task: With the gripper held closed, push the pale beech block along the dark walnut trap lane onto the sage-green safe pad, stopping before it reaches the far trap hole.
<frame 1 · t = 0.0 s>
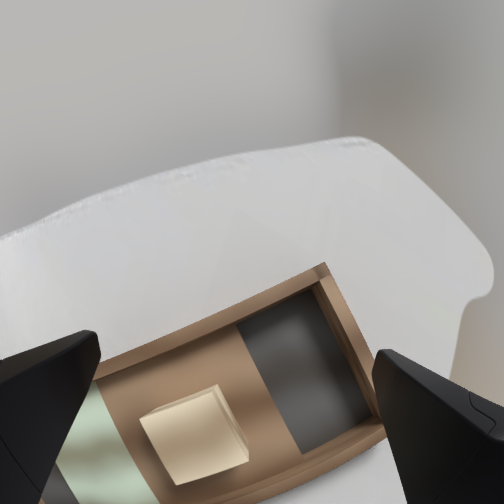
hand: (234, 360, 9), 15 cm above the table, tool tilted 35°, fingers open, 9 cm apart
beech block: (201, 426, 19), point 2 cm above the table, touching trap lane
trap lane: (156, 437, 21), on the table
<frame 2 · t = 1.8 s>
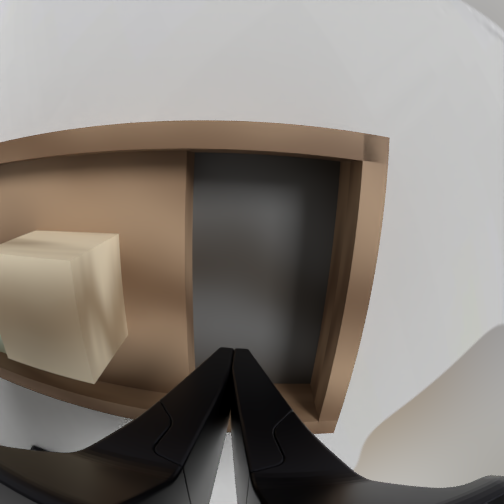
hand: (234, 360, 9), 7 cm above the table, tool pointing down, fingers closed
beech block: (78, 282, 13), point 2 cm above the table, touching trap lane
trap lane: (36, 263, 15), on the table
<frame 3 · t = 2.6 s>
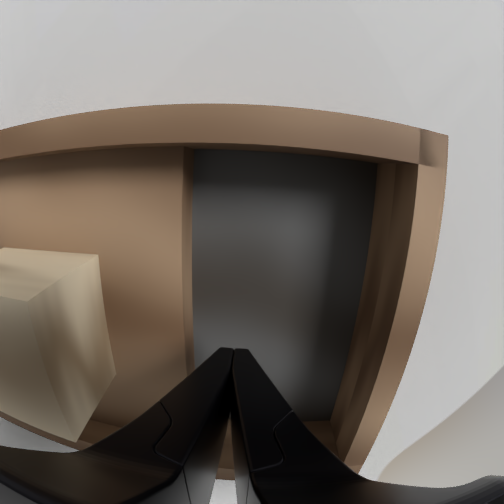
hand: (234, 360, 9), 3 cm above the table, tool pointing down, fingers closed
beech block: (54, 311, 10), point 2 cm above the table, touching trap lane
trap lane: (12, 282, 12), on the table
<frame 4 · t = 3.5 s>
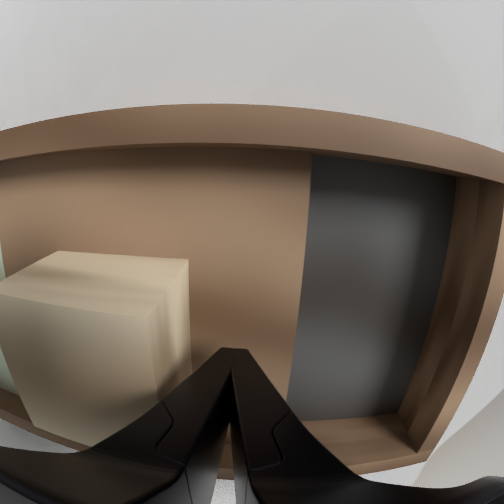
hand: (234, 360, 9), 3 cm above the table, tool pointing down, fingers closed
beech block: (123, 321, 10), point 2 cm above the table, touching gripper, trap lane
trap lane: (65, 292, 12), on the table
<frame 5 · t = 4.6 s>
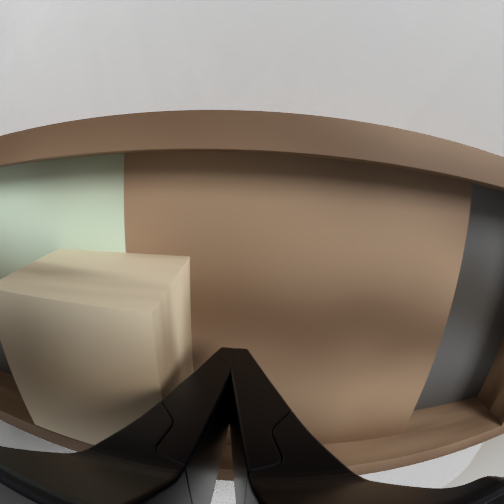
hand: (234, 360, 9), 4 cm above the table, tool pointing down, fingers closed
beech block: (124, 319, 10), point 2 cm above the table, touching gripper, trap lane
trap lane: (195, 308, 12), on the table
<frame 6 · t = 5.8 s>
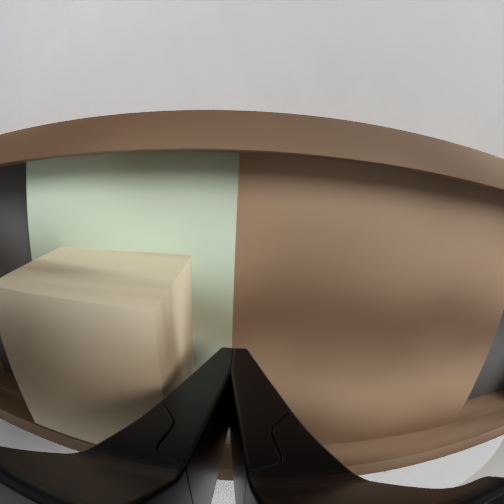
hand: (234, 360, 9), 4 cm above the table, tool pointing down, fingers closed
beech block: (125, 318, 10), point 2 cm above the table, touching gripper, trap lane
trap lane: (285, 312, 12), on the table
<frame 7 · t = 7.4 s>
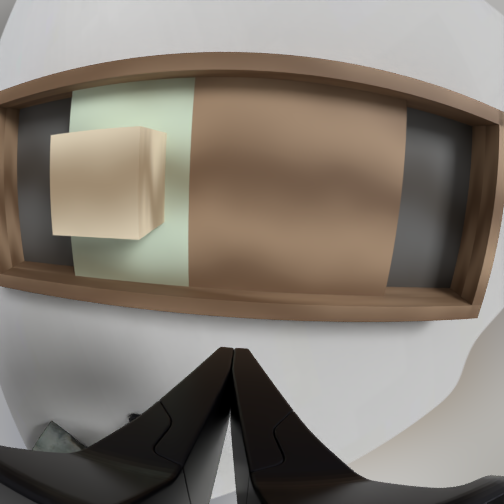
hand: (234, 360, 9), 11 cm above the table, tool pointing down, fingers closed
beech block: (124, 177, 16), point 2 cm above the table, touching trap lane
trap lane: (229, 182, 18), on the table
stone block: (68, 455, 29), on the table
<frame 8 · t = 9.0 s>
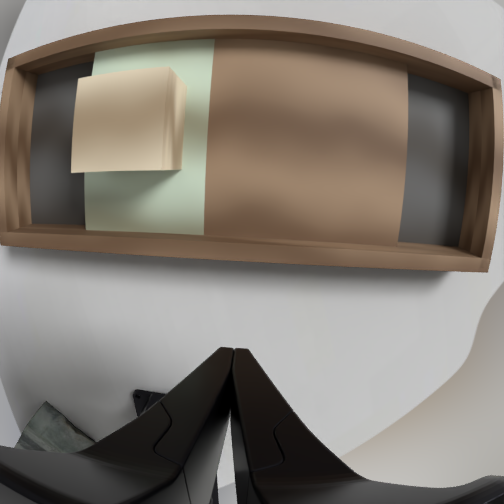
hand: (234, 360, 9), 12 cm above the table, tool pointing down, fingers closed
beech block: (143, 128, 16), point 2 cm above the table, touching trap lane
trap lane: (244, 136, 18), on the table
stone block: (61, 440, 28), on the table
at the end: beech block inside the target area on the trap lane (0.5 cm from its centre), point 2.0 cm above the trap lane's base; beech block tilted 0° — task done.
